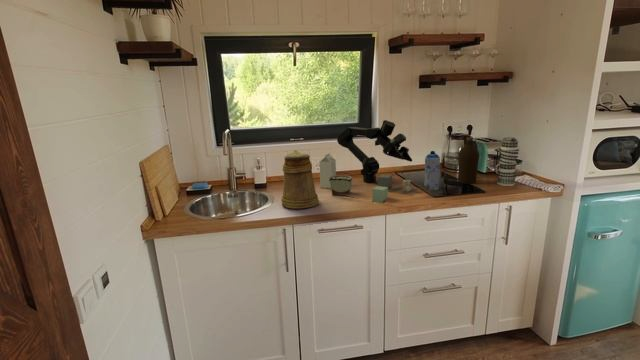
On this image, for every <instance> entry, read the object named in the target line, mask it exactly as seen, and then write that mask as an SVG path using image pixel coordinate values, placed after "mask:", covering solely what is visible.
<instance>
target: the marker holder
mask: <svg viewBox="0 0 640 360" xmlns="http://www.w3.org/2000/svg"><path fill="white" fill-rule="evenodd" d="M420 190H421V189H420V188H416V187H415V188H413V187H411V180H410V179H404V180H402V186H396V185H392V188H390V189H389V190H388V193H392V194H399V195H406V196H407V195H408V196H413V195H415V194H416V193H417V192H418V191H420Z"/></svg>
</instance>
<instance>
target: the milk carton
mask: <svg viewBox="0 0 640 360" xmlns="http://www.w3.org/2000/svg"><path fill="white" fill-rule="evenodd" d="M336 162H337V161H336V159H335V158H334V157H333V156H332V155H331V153H330V152H327V153H326V154H325V155H324V157H323V158H322V159H321V160H320V161H319V163H318V164H319V180H320V182H319V183H320V188H323V189H331V184H330V181H329V178H330V177H331V176H336V175H337V170H336V169H337V168H336V167H337V163H336Z"/></svg>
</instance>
